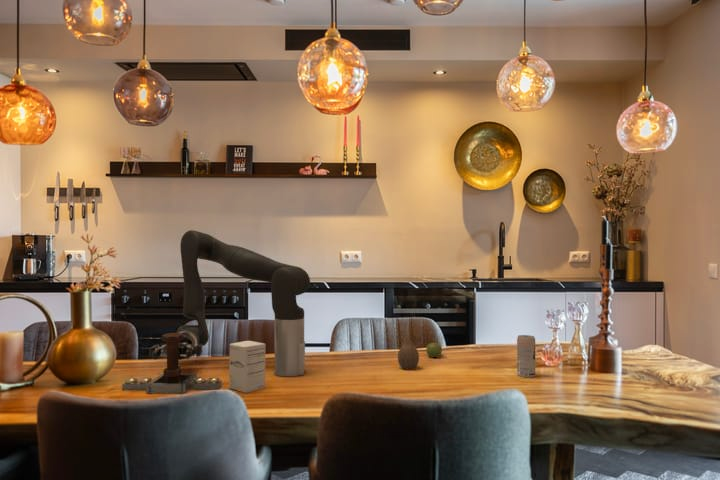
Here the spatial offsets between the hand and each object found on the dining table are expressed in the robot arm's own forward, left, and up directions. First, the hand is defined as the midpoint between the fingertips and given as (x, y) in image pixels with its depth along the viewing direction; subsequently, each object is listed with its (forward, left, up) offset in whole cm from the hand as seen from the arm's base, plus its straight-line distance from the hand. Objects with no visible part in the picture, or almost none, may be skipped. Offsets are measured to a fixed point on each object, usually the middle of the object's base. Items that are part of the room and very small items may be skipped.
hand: (171, 355), depth 147 cm
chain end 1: (+5, -2, -10) cm, 11 cm away
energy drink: (-104, -13, -10) cm, 105 cm away
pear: (-81, -43, -10) cm, 92 cm away
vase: (-69, -24, -10) cm, 73 cm away
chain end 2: (-4, -2, -10) cm, 11 cm away
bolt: (0, -2, -10) cm, 10 cm away
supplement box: (-21, -1, -10) cm, 23 cm away
